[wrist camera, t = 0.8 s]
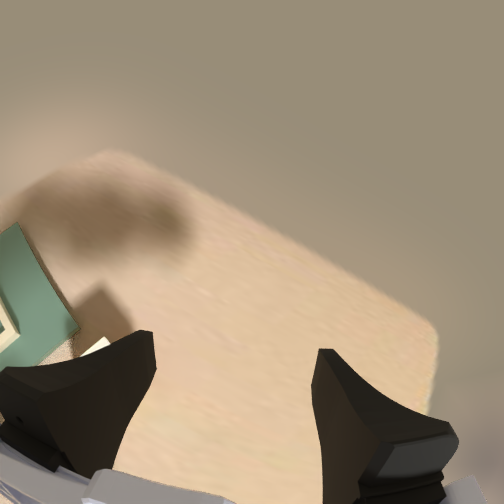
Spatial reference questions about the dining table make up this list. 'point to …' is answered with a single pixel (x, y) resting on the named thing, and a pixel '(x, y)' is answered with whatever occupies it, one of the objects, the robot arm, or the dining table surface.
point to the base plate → (28, 306)
